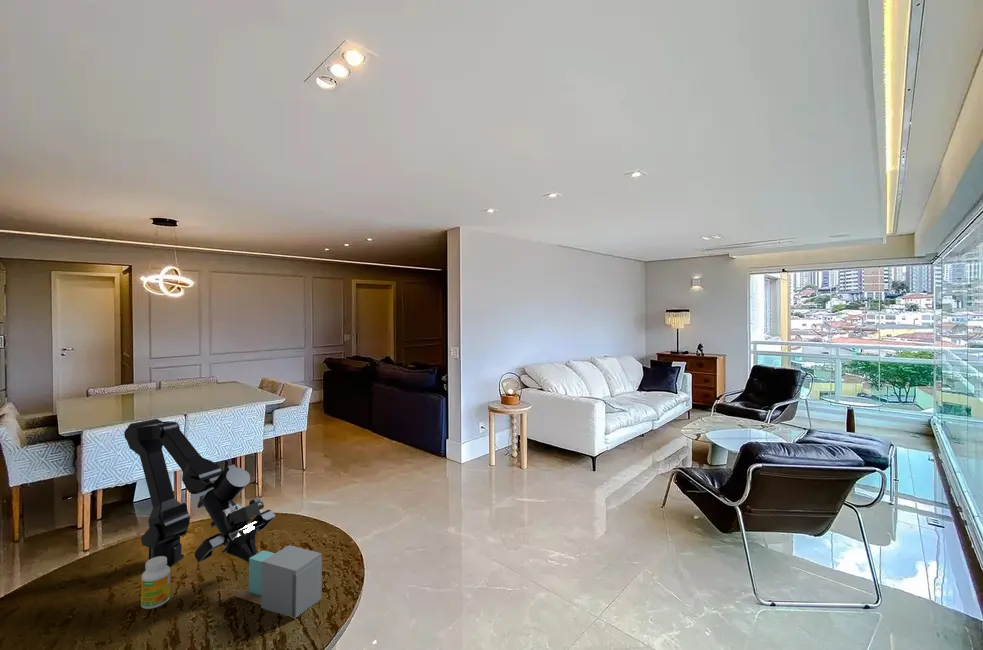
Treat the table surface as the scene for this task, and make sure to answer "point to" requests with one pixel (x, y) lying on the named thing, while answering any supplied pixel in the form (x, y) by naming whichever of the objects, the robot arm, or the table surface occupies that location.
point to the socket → (291, 581)
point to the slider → (257, 571)
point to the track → (248, 596)
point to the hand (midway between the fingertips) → (255, 562)
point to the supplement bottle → (155, 583)
